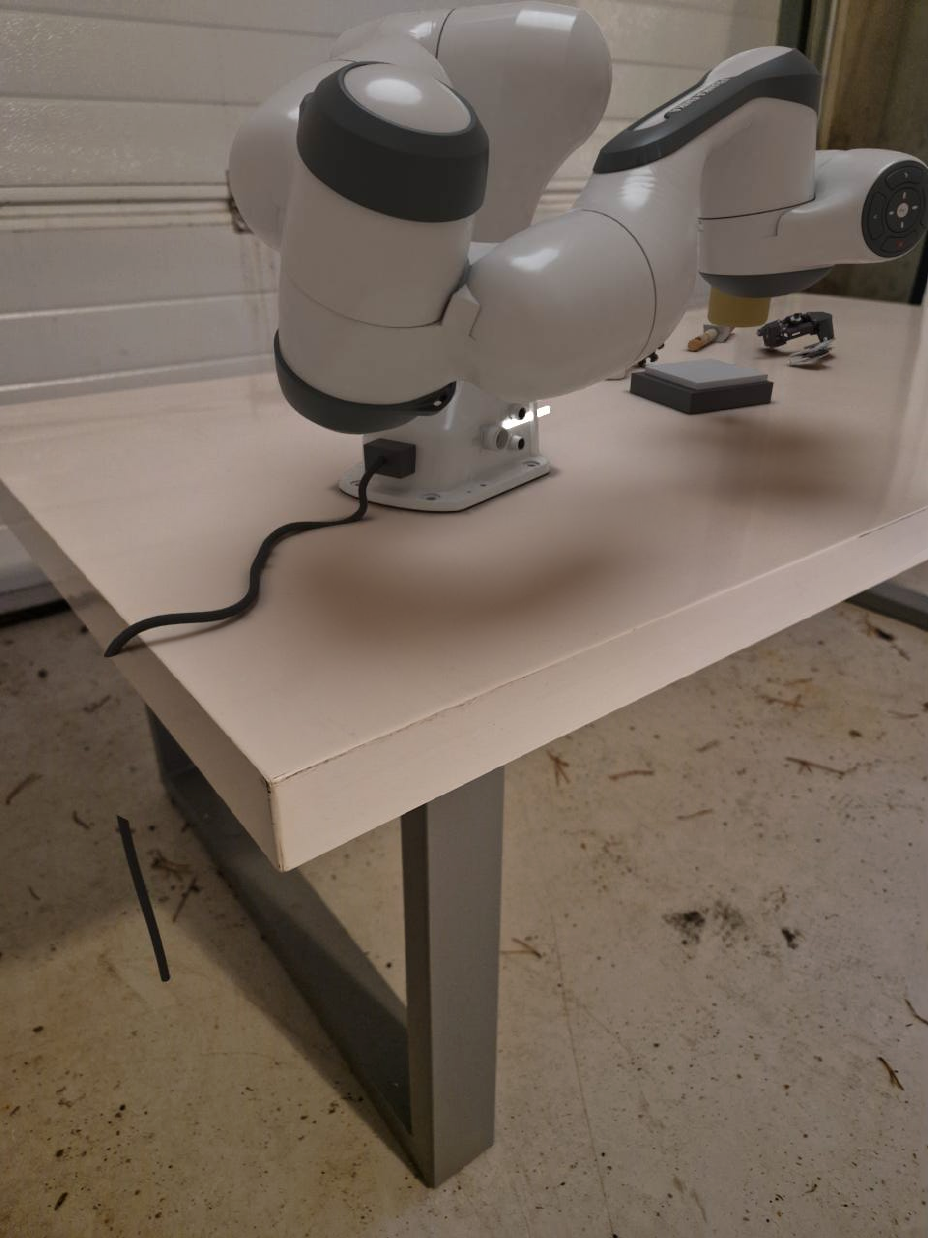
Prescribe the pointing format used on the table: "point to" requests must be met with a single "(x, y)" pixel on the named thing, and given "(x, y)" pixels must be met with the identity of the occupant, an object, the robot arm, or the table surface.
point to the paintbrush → (710, 335)
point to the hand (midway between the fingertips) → (750, 198)
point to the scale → (702, 385)
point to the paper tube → (737, 310)
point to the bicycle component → (801, 333)
